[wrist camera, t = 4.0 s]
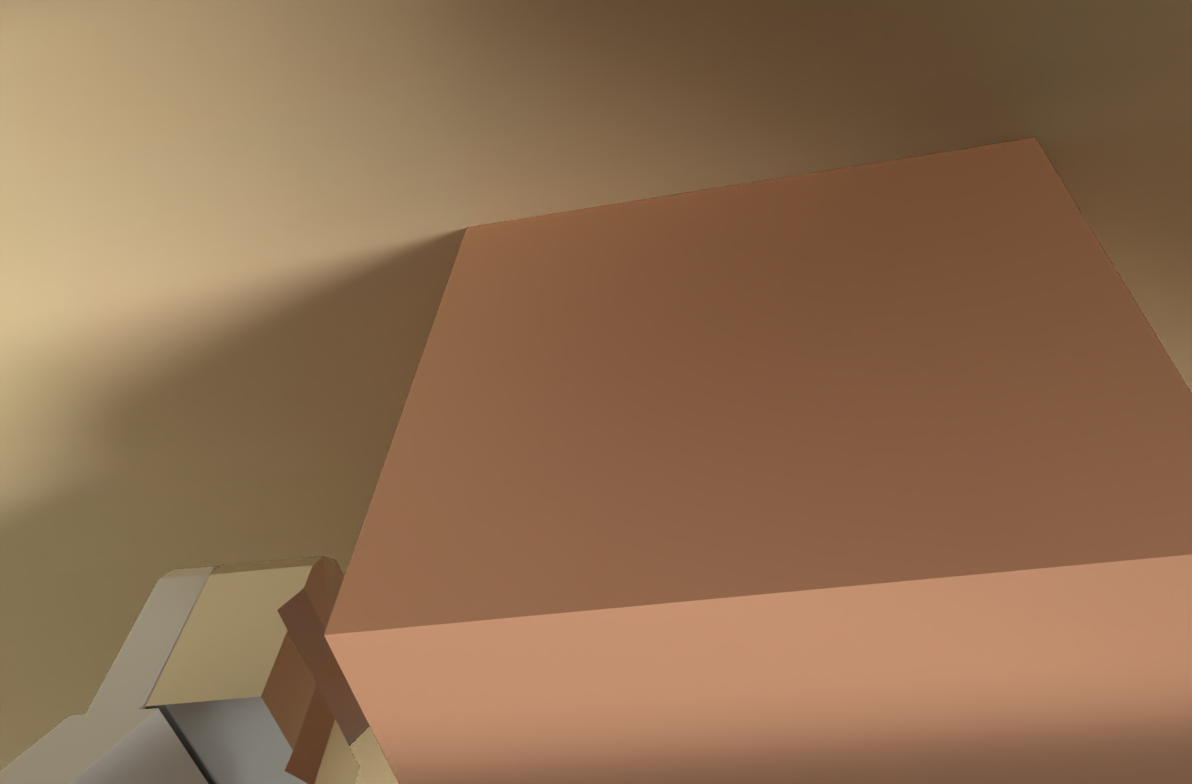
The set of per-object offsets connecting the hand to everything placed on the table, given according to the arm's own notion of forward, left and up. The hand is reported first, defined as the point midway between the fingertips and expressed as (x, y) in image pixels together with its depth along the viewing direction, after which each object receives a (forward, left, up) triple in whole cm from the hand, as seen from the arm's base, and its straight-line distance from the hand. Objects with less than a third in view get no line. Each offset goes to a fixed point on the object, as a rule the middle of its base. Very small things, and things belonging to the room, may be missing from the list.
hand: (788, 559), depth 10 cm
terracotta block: (0, 0, -2) cm, 2 cm away
